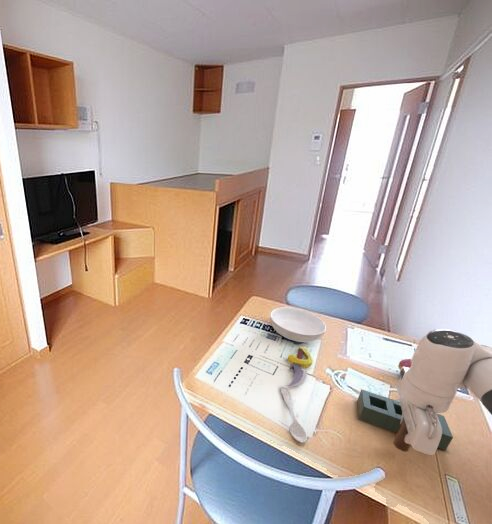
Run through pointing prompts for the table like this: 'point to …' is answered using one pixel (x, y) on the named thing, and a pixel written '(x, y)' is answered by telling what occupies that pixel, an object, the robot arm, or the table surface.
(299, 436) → the spoon
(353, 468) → the table surface
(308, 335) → the serving bowl
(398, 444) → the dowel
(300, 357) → the knife
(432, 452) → the robot arm
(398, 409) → the peg block
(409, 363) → the cupcake
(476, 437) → the table surface
